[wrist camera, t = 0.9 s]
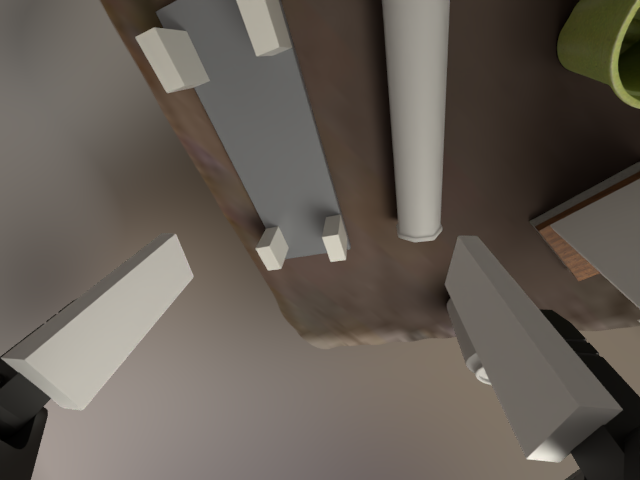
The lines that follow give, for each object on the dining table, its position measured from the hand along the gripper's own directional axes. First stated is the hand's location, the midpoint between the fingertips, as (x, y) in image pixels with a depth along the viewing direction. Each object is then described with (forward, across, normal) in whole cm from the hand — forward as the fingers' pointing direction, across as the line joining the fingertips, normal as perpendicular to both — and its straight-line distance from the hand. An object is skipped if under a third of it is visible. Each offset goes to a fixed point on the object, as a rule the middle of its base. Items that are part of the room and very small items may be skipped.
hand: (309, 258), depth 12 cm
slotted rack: (+20, -7, 0) cm, 21 cm away
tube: (+20, +8, +4) cm, 22 cm away
